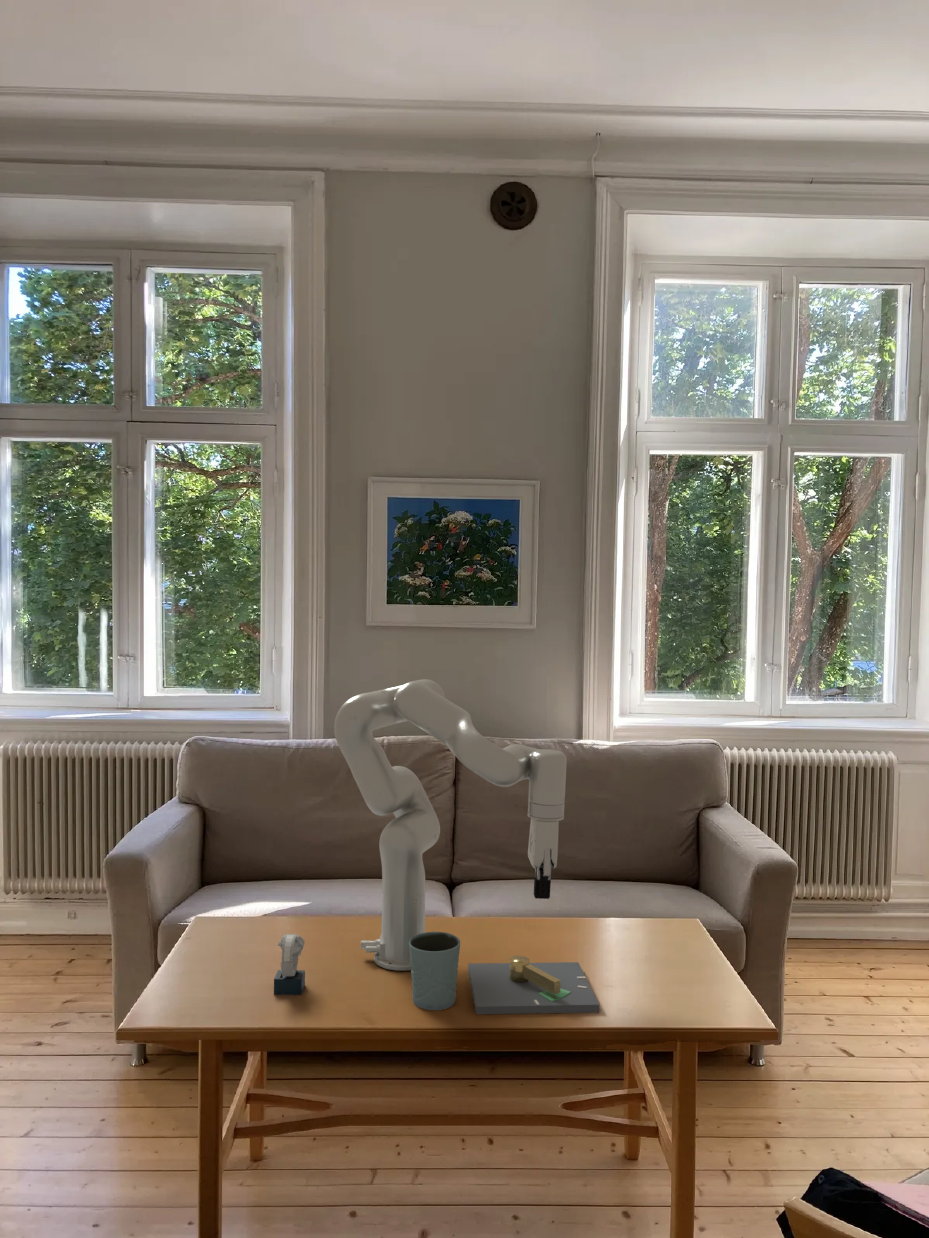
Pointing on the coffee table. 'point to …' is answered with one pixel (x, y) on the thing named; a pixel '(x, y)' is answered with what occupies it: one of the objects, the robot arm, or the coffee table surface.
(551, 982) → the needle
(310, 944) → the coffee table surface
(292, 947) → the grey and black figurine
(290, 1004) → the coffee table surface
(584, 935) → the coffee table surface
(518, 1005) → the dial plate
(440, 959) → the teal cup
